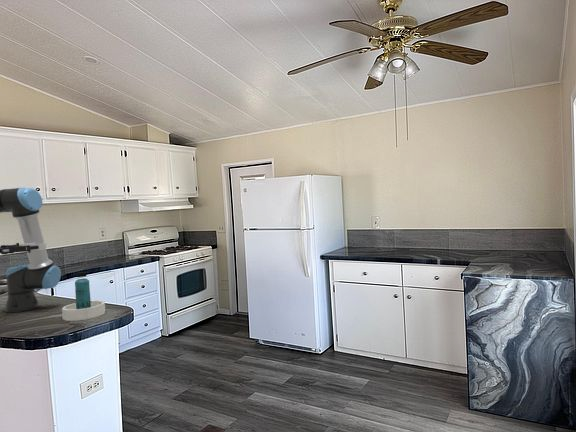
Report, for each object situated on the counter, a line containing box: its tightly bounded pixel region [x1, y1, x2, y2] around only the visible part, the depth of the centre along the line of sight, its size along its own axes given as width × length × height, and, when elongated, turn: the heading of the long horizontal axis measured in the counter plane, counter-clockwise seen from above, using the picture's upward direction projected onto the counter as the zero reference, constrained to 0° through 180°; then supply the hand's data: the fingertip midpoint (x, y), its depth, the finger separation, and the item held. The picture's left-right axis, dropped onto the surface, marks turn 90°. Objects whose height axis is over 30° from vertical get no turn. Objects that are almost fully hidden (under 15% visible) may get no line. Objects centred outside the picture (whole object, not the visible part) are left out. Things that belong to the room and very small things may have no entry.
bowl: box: [61, 300, 106, 322], centre depth 199 cm, size 18×18×5 cm
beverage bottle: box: [74, 271, 92, 309], centre depth 198 cm, size 6×7×20 cm
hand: (40, 245), depth 193 cm, fingers open, 13 cm apart
